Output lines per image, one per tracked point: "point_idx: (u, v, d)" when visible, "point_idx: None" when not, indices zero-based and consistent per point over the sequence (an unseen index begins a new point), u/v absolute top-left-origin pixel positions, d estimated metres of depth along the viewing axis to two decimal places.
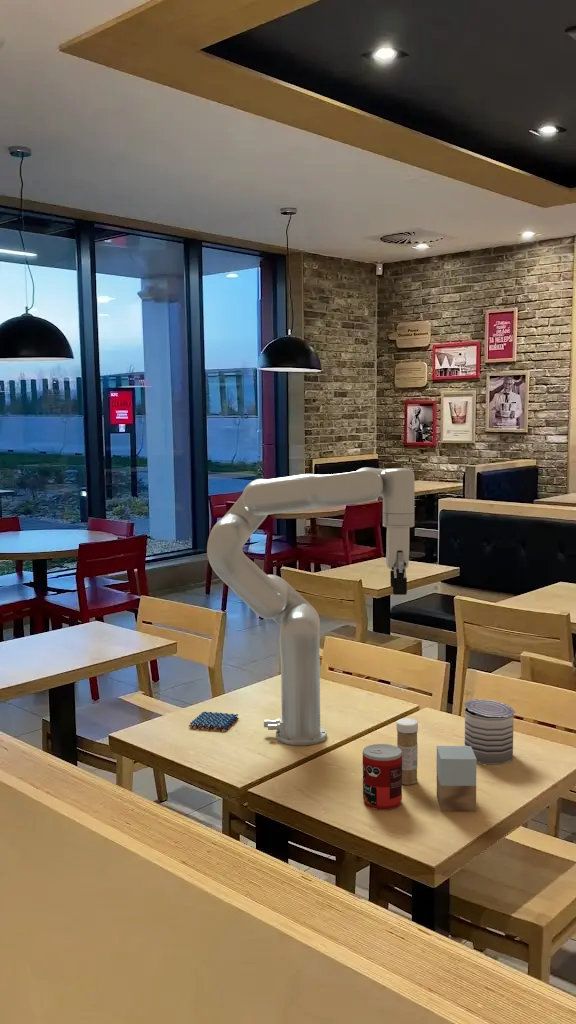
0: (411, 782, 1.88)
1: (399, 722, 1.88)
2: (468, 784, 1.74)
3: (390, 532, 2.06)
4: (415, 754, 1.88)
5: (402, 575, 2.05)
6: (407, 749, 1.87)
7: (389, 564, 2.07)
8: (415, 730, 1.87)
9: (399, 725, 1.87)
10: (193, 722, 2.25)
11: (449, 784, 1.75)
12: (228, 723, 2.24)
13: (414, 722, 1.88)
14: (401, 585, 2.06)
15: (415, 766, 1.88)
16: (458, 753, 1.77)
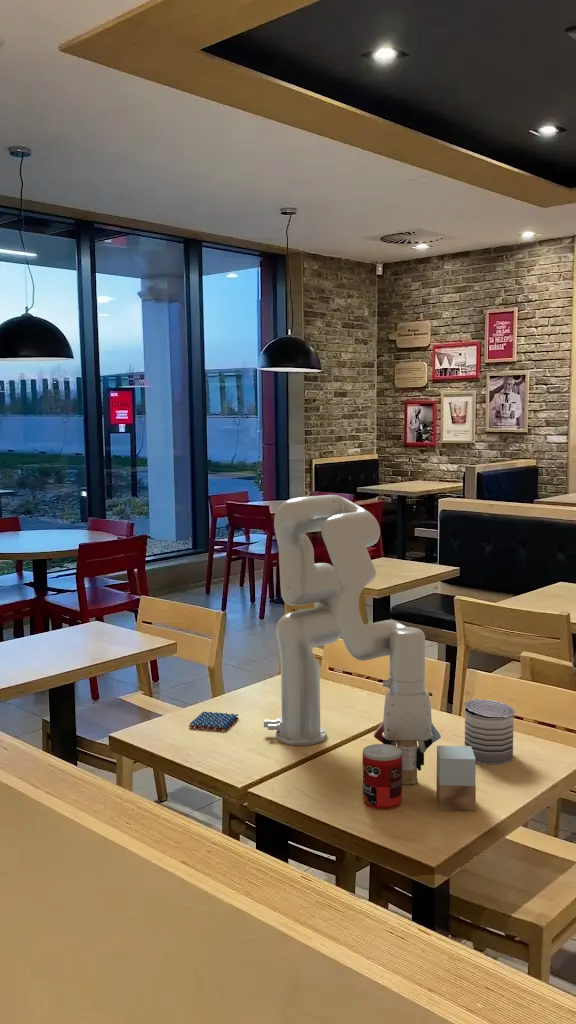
0: (411, 782, 1.88)
1: None
2: (467, 784, 1.74)
3: (427, 700, 1.86)
4: (415, 754, 1.88)
5: None
6: (406, 749, 1.87)
7: (430, 735, 1.86)
8: None
9: None
10: (193, 722, 2.25)
11: (448, 784, 1.75)
12: (228, 723, 2.24)
13: None
14: None
15: (415, 766, 1.88)
16: (457, 753, 1.77)
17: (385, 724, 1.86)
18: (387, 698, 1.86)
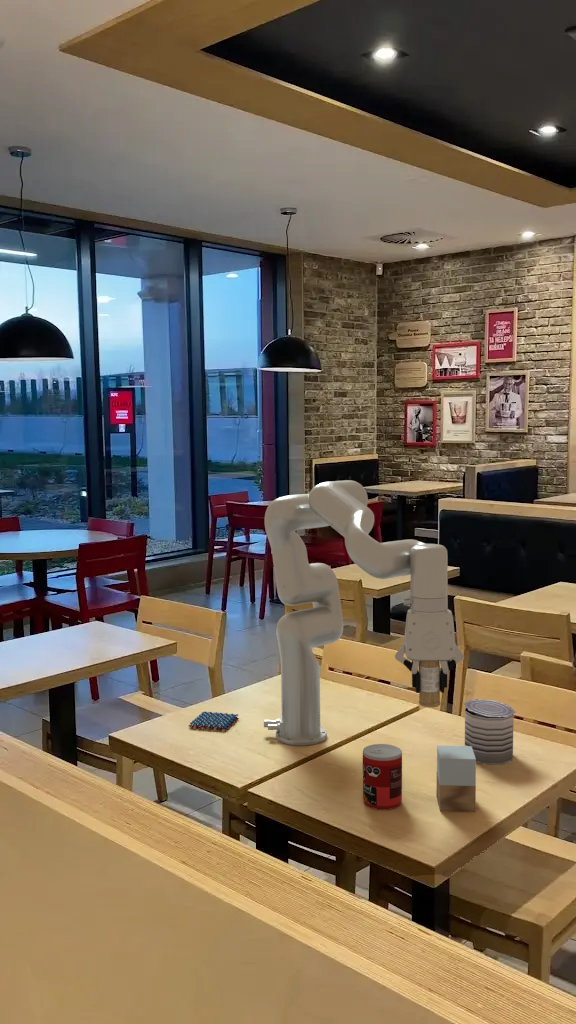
0: (434, 705, 1.81)
1: None
2: (467, 784, 1.74)
3: (450, 618, 1.79)
4: (438, 675, 1.81)
5: None
6: (429, 670, 1.80)
7: (454, 654, 1.79)
8: None
9: None
10: (193, 722, 2.25)
11: (448, 784, 1.75)
12: (228, 723, 2.24)
13: None
14: None
15: (438, 688, 1.81)
16: (458, 753, 1.77)
17: (407, 644, 1.79)
18: (408, 617, 1.79)
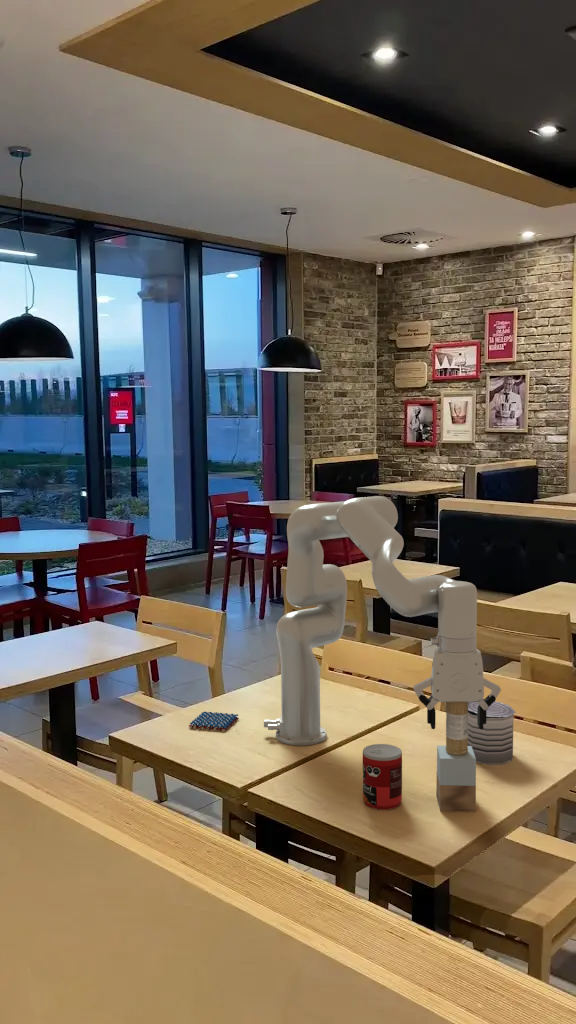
0: (462, 752, 1.75)
1: None
2: (468, 784, 1.74)
3: (479, 658, 1.73)
4: (466, 722, 1.75)
5: None
6: (457, 717, 1.74)
7: (482, 696, 1.73)
8: None
9: None
10: (193, 722, 2.25)
11: (448, 784, 1.75)
12: (228, 723, 2.24)
13: None
14: None
15: (466, 735, 1.76)
16: None
17: (434, 684, 1.74)
18: (436, 657, 1.74)
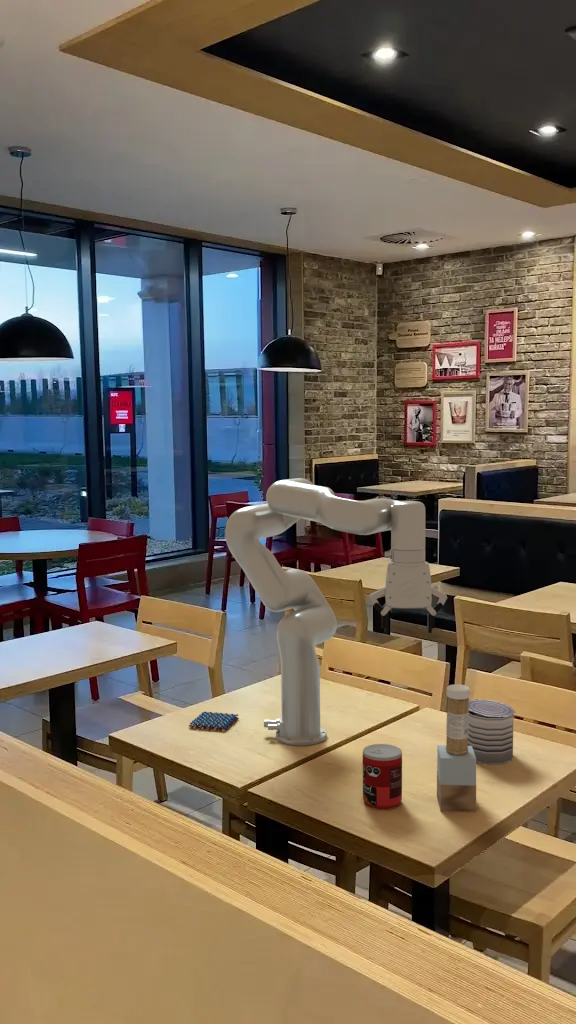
0: (462, 752, 1.76)
1: (450, 688, 1.76)
2: (468, 784, 1.74)
3: (427, 569, 1.94)
4: (466, 722, 1.76)
5: None
6: (458, 717, 1.75)
7: (430, 602, 1.94)
8: (467, 696, 1.75)
9: (450, 691, 1.75)
10: (193, 722, 2.25)
11: (449, 783, 1.75)
12: (228, 723, 2.24)
13: (466, 688, 1.76)
14: None
15: (466, 735, 1.76)
16: None
17: (387, 592, 1.95)
18: (389, 567, 1.94)
